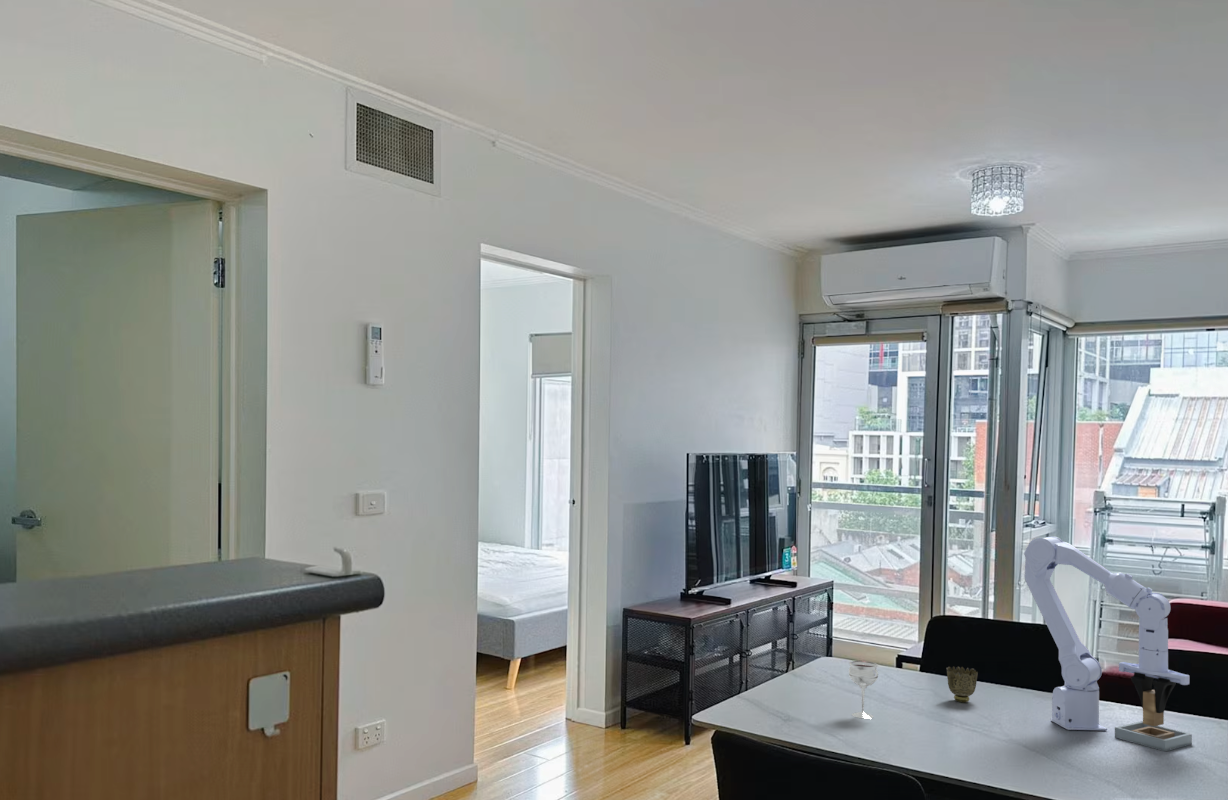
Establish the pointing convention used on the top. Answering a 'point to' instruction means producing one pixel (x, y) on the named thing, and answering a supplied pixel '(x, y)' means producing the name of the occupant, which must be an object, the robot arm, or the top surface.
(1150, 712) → the tan wooden tall block
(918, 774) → the top surface
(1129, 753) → the top surface
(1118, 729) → the grey tray
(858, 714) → the wineglass
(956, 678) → the cup
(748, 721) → the top surface
